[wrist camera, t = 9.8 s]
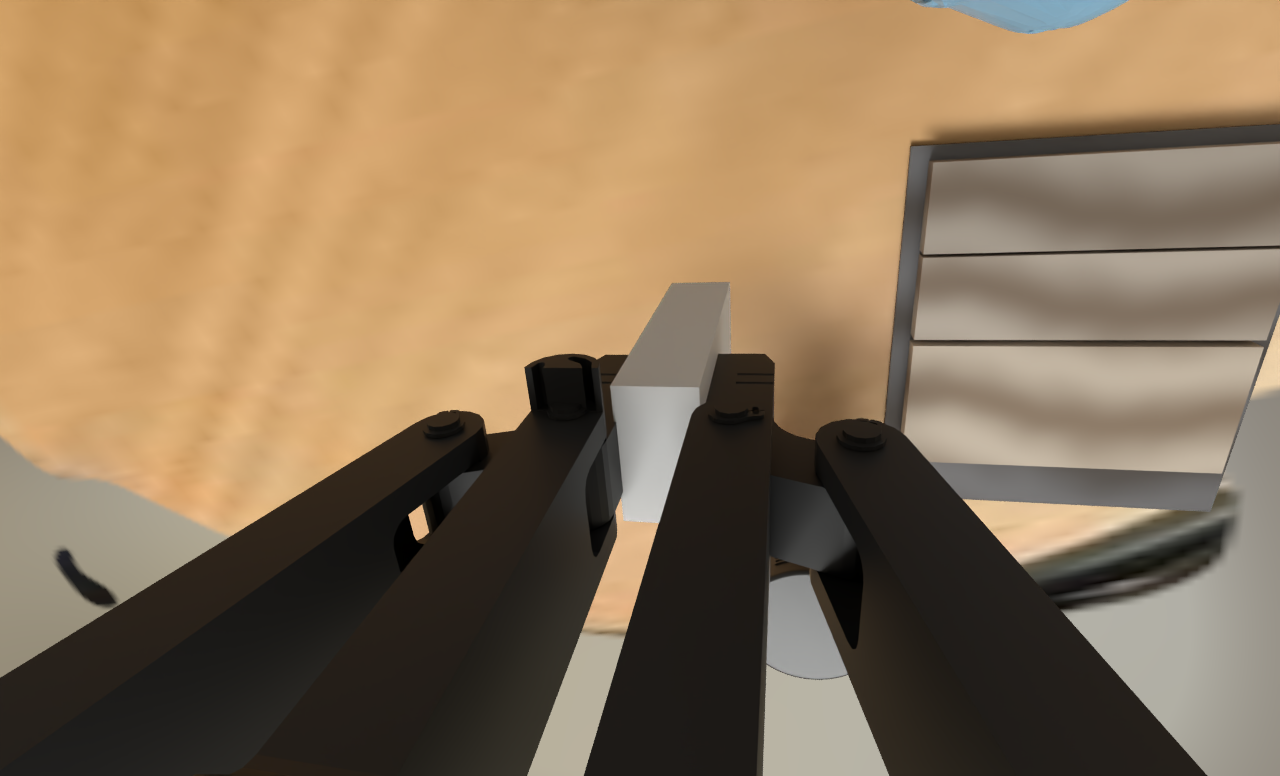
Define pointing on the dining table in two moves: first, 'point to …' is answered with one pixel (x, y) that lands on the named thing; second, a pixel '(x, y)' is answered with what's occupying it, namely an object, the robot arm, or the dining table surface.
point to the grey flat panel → (1090, 269)
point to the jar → (799, 626)
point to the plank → (1078, 402)
